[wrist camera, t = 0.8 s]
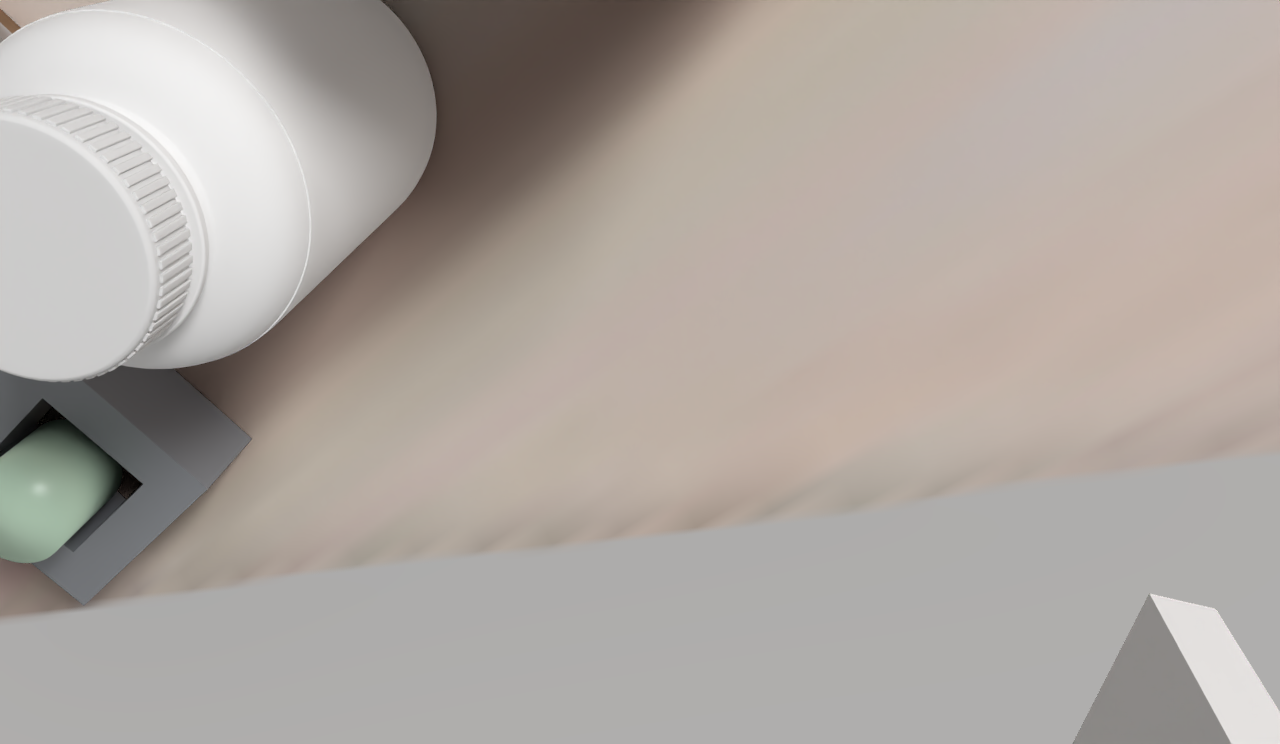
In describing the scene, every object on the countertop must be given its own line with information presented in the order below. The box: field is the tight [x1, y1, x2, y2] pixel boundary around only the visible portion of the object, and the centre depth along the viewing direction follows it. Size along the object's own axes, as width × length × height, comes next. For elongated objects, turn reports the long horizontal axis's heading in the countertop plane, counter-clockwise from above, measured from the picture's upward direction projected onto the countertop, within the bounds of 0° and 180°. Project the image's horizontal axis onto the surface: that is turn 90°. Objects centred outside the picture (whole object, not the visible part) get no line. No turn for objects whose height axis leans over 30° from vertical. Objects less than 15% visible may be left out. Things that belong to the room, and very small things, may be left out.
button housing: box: [0, 365, 251, 605], centre depth 38 cm, size 7×7×4 cm
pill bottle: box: [0, 0, 437, 382], centre depth 28 cm, size 8×8×15 cm
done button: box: [0, 419, 123, 563], centre depth 36 cm, size 3×3×4 cm
